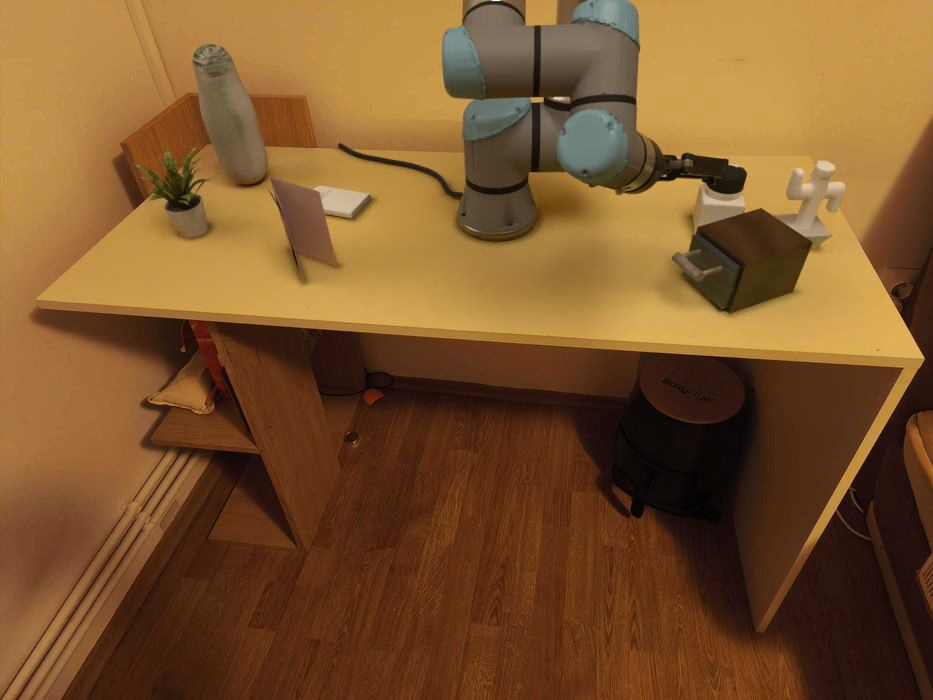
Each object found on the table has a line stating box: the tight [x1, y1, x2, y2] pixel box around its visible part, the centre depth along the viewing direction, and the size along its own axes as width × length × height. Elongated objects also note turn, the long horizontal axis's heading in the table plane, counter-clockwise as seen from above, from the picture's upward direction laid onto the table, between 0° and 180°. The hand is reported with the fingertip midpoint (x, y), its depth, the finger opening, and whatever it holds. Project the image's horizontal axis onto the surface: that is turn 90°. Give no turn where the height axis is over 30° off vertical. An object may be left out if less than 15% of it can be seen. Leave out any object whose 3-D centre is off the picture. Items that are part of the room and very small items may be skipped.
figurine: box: [773, 159, 847, 250], centre depth 104 cm, size 7×9×15 cm
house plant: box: [130, 145, 214, 239], centre depth 115 cm, size 14×14×16 cm
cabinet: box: [696, 207, 813, 314], centre depth 98 cm, size 13×11×10 cm
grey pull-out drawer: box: [671, 234, 741, 310], centre depth 97 cm, size 16×10×8 cm, turn 112°
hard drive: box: [312, 184, 372, 220], centre depth 125 cm, size 2×8×12 cm
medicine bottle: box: [692, 162, 748, 235], centre depth 109 cm, size 7×7×12 cm
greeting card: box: [267, 176, 338, 283], centre depth 107 cm, size 11×7×15 cm, turn 23°
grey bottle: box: [192, 43, 269, 185], centre depth 126 cm, size 10×10×28 cm
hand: (667, 179), depth 97 cm, fingers open, 13 cm apart
